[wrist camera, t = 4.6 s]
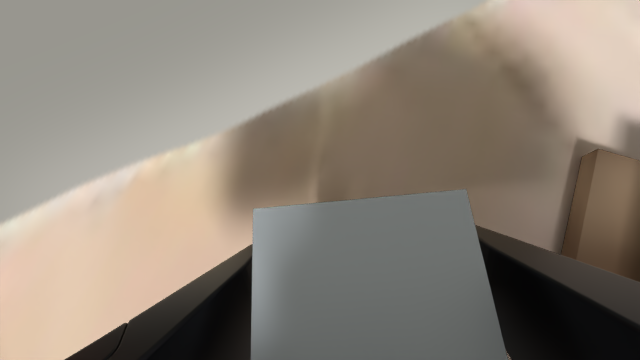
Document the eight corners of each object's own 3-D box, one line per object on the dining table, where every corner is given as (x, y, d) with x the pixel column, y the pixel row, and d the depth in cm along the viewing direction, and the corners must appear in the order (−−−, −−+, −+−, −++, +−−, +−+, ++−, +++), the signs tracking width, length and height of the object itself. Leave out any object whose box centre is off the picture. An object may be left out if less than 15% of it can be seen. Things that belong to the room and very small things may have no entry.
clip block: (415, 333, 12) (536, 476, 4) (320, 337, 13) (249, 470, 4) (399, 235, 14) (466, 189, 5) (314, 242, 14) (253, 208, 6)
